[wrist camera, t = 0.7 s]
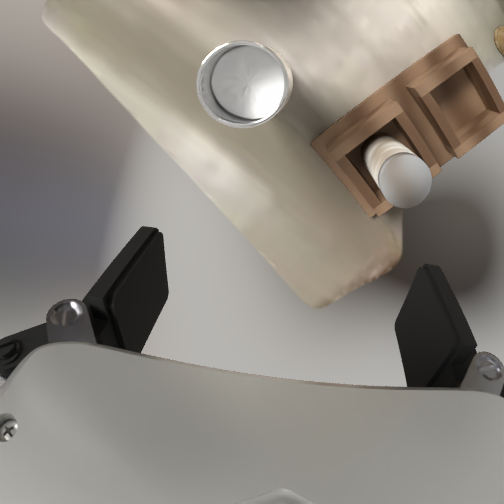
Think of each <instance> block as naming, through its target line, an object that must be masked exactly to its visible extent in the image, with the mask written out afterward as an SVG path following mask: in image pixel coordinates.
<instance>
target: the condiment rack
mask: <svg viewBox="0 0 504 504" xmlns="http://www.w3.org/2000/svg"><path fill="white" fill-rule="evenodd" d="M503 123H504V103H503V101H502V99H501V96H500V95H499V93H498V91H497V89H496V87H495V85H494V83H493V81H492V79H491V78H490V76H489V74H488V72H487V71H486V69H485V67H484V65H483V64H482V62H481V60H480V59H479V57H478V55H477V54H476V52H475V51H474V49H473V47H468V46H467V45H466V43H465V42H464V40H463V39H462V37H461V36H460V34H456V35H454V36H453V37H451V38H450V39H448V40H447V41H445V42H444V43H443V44H441V45H440V46H438V47H437V48H435V49H434V50H432V51H431V52H430V53H428V54H427V55H425V56H424V57H423V58H421V59H420V60H418V61H417V62H416V63H414V64H413V65H411V66H410V67H409V68H407V69H406V70H404V71H403V72H402V73H400V74H399V75H398V76H396V77H395V78H394V79H392V80H391V81H389V82H388V83H387V84H385V85H384V86H383V87H381V88H380V89H379V90H377V91H376V92H375V93H373V94H372V95H371V96H369V97H368V98H367V99H365V100H364V101H363V102H361V103H360V104H359V105H358V106H356V107H355V108H354V109H352V110H351V111H350V112H348V113H347V114H346V115H345V116H343V117H342V118H341V119H339V120H338V121H337V122H336V123H334V124H333V125H332V126H330V127H329V128H328V129H327V130H325V131H324V132H323V133H322V134H320V135H319V136H318V137H317V138H315V139H314V140H313V141H312V142H310V145H311V146H312V147H313V148H314V149H315V150H316V152H317V153H318V154H319V155H320V156H321V157H322V159H323V160H324V161H325V162H326V163H327V164H328V166H329V167H330V168H331V169H332V170H333V172H334V173H335V174H336V175H337V176H338V178H339V179H340V180H341V181H342V182H343V184H344V185H345V186H346V187H347V189H348V190H349V191H350V192H351V194H352V195H353V196H354V197H355V199H356V200H357V201H358V203H359V204H360V205H361V206H362V208H363V209H364V210H365V212H366V213H367V214H368V216H369V217H370V218H371V217H372V216H374V215H375V214H377V215H378V217H379V216H381V215H382V214H383V213H385V212H386V211H388V210H389V209H390V208H392V207H393V206H396V207H399V208H411V207H414V206H417V205H418V204H420V203H421V202H422V201H424V199H425V198H426V197H427V196H428V194H429V192H430V189H431V186H432V178H433V177H434V176H436V175H437V174H439V173H440V172H441V171H442V170H441V168H440V167H441V166H442V165H444V164H445V163H446V162H448V161H449V160H450V159H452V158H453V157H454V156H455V157H457V158H460V157H461V156H462V155H464V154H465V153H466V152H468V151H469V150H470V149H471V148H473V147H474V146H476V145H477V144H478V143H479V142H481V141H482V140H483V139H485V138H486V137H487V136H488V135H489V134H491V133H492V132H493V131H495V130H496V129H497V128H498V127H500V126H501V125H502V124H503Z"/></svg>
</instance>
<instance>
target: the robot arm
mask: <svg viewBox="0 0 504 504" xmlns="http://www.w3.org/2000/svg"><path fill="white" fill-rule="evenodd" d="M163 241H164V240H163V234H162V233H161V232H159V230H158V229H157V228H153V227H144V226H142V227H141V228H140V229H139V230H138V231H137V232H136V234H135V235H134V236H133V237H132V238H131V240H130V241H129V242H128V243H127V244H126V246H125V247H124V248H123V249H122V250H121V252H120V253H119V254H118V256H117V257H116V258H115V259H114V260H113V262H112V263H111V264H110V265H109V267H108V268H107V269H106V270H105V272H104V273H103V274H102V276H101V277H100V278H99V279H98V281H97V282H96V283H95V285H94V286H93V287H92V288H91V290H90V291H89V292H88V294H87V295H86V296H85V298H84V299H83V300H82V301H81V300H77V299H64V300H62V301H59V302H57V303H56V304H54V305H53V306H52V307H51V308H50V309H49V310H48V313H47V315H46V323H44V324H41V325H38V326H35V327H32V328H30V329H27V330H24V331H21V332H19V333H16V334H13V335H10V336H7V337H5V338H3V339H1V340H0V504H504V366H503V364H502V362H501V361H500V360H499V359H498V358H497V357H496V356H495V355H493V354H491V353H488V352H479V353H477V352H476V349H475V348H476V346H477V343H476V341H475V339H474V336H473V334H472V332H471V329H470V327H469V325H468V322H467V320H466V318H465V316H464V314H463V312H462V309H461V307H460V305H459V303H458V301H457V299H456V297H455V295H454V293H453V291H452V289H451V287H450V285H449V283H448V281H447V279H446V277H445V275H444V274H443V272H442V270H441V268H440V267H439V266H437V265H431V264H424V265H423V267H419V269H418V270H417V273H416V276H415V278H414V281H413V283H412V285H411V288H410V290H409V292H408V294H407V297H406V299H405V301H404V304H403V306H402V308H401V310H400V313H399V315H398V317H397V319H396V322H395V332H396V336H397V341H398V345H399V349H400V353H401V358H402V363H403V367H404V372H405V377H406V382H407V387H388V386H365V385H349V384H336V383H324V382H313V381H301V380H293V379H285V378H277V377H269V376H261V375H254V374H247V373H240V372H235V371H228V370H222V369H216V368H210V367H205V366H200V365H194V364H189V363H184V362H179V361H175V360H170V359H165V358H160V357H155V356H150V355H146V354H141V351H142V349H143V347H144V345H145V343H146V341H147V339H148V337H149V335H150V333H151V331H152V329H153V326H154V324H155V323H156V320H157V319H158V316H159V315H160V313H161V310H162V308H163V307H164V304H165V302H166V301H167V298H168V292H169V291H168V281H167V273H166V262H165V251H164V242H163Z"/></svg>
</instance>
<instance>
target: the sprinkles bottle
mask: <svg viewBox="0 0 504 504" xmlns="http://www.w3.org/2000/svg"><path fill="white" fill-rule="evenodd" d="M494 39H495V44H496V46H497V48H498V49H499V51H500V52H501V53H502V54H503V55H504V26H500V27H498V28H497V29H496V31H495V34H494Z"/></svg>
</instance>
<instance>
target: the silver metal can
mask: <svg viewBox="0 0 504 504" xmlns="http://www.w3.org/2000/svg"><path fill="white" fill-rule="evenodd" d="M196 88H197V94H198V98H199V100H200V102H201V104H202V106H203V108H204V109H205V111H206V112H207V113H208V114H209V115H210V116H211V117H212V118H214V119H215V120H216V121H218V122H220V123H222V124H224V125H227V126H230V127H235V128H251V127H255V126H259V125H261V124H263V123H265V122H267V121H269V120H270V119H272V118H273V117H274V116H276V115H277V114H278V113H279V112H280V111H281V110H282V109H283V108H284V107H285V105H286V104H287V102H288V101H289V98H290V96H291V93H292V89H293V76H292V72H291V69H290V67H289V65H288V63H287V61H286V60H285V59H284V57H283V56H282V55H281V54H280V53H279V52H277V51H276V50H274V49H273V48H271V47H269V46H267V45H264V44H261V43H257V42H253V41H243V40H242V41H233V42H229V43H226V44H223V45H221V46H219V47H218V48H216V49H215V50H213V51H212V52H211V53H210V54H209V55H208V56H207V57H206V58H205V60H204V61H203V63H202V64H201V66H200V69H199V71H198V75H197V81H196Z"/></svg>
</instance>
